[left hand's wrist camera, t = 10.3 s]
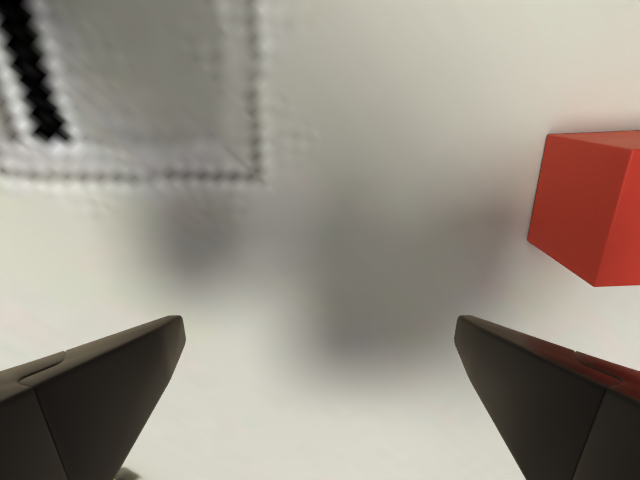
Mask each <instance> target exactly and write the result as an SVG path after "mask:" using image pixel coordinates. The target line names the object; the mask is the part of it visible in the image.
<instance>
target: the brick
mask: <svg viewBox="0 0 640 480" xmlns="http://www.w3.org/2000/svg"><path fill="white" fill-rule="evenodd" d="M528 241H529V242H530V243H531V244H533V245H534V246H536V247H537V248H539V249H540V250H541V251H543V252H544V253H546V254H547V255H549V256H550V257H552V258H553V259H554V260H556V261H557V262H559V263H560V264H562V265H563V266H564V267H566V268H567V269H569V270H570V271H572V272H573V273H575V274H576V275H577V276H579V277H580V278H582V279H583V280H585V281H586V282H587V283H589V284H590V285H592V286H594V287H604V286H629V285H640V130H637V131H615V132H592V133H570V134H549V135H548V136H547V140H546V146H545V151H544V156H543V161H542V167H541V172H540V177H539V182H538V188H537V193H536V198H535V203H534V208H533V214H532V219H531V224H530V229H529V235H528Z"/></svg>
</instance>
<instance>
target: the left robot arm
mask: <svg viewBox="0 0 640 480" xmlns="http://www.w3.org/2000/svg"><path fill="white" fill-rule="evenodd" d="M185 341H186V336H185V330H184V324H183V319H182V317H181V316H179V315H170V316H166V317H163V318H160V319H157V320H154V321H151V322H148V323H145V324H142V325H140V326H137V327H134V328H131V329H128V330H125V331H122V332H119V333H116V334H113V335H110V336H107V337H104V338H101V339H98V340H96V341H93V342H90V343H87V344H84V345H81V346H78V347H75V348H72V349H69V350H66V352H64V351H62V352H59V353H56V354H53V355H50V356H47V357H44V358H41V359H38V360H35V361H32V362H29V363H26V364H22V365H19V366H16V367H13V368H10V369H6V370H3V371H0V480H114V478H115V477H116V475H117V473H118V471H119V470H120V468H121V466H122V464H123V463H124V461H125V459H126V457H127V455H128V454H129V452H130V450H131V448H132V447H133V445H134V443H135V441H136V440H137V438H138V436H139V434H140V433H141V431H142V429H143V427H144V426H145V424H146V422H147V420H148V418H149V417H150V415H151V413H152V411H153V410H154V408H155V406H156V404H157V403H158V401H159V399H160V397H161V396H162V394H163V392H164V390H165V388H166V387H167V385H168V383H169V381H170V379H171V377H172V375H173V372H174V370H175V368H176V365H177V363H178V360H179V358H180V355H181V353H182V351H183V348H184V346H185ZM454 341H455V346H456V348H457V350H458V353H459V355H460V358H461V360H462V363H463V365H464V368H465V370H466V372H467V375H468V377H469V379H470V381H471V383H472V385H473V387H474V388H475V390H476V392H477V394H478V395H479V397H480V399H481V401H482V403H483V404H484V406H485V408H486V410H487V411H488V413H489V415H490V417H491V418H492V420H493V422H494V424H495V425H496V427H497V429H498V431H499V433H500V434H501V436H502V438H503V440H504V441H505V443H506V445H507V447H508V448H509V450H510V452H511V454H512V455H513V457H514V459H515V461H516V463H517V464H518V466H519V468H520V470H521V471H522V473H523V475H524V477H525V478H526V480H640V371H637V370H634V369H630V368H627V367H624V366H621V365H618V364H614V363H611V362H608V361H605V360H602V359H599V358H596V357H593V356H590V355H587V354H584V353H581V352H578V351H576V352H575V351H574V350H571V349H568V348H565V347H562V346H559V345H556V344H553V343H550V342H547V341H544V340H542V339H539V338H536V337H533V336H530V335H527V334H524V333H521V332H518V331H515V330H512V329H509V328H506V327H503V326H501V325H498V324H495V323H492V322H489V321H486V320H483V319H480V318H477V317H474V316H470V315H461V316H459V317H458V319H457V324H456V330H455V336H454Z"/></svg>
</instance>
